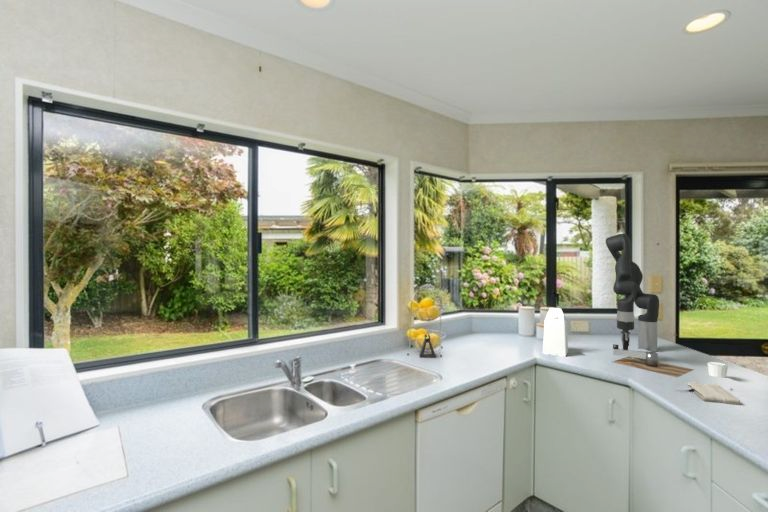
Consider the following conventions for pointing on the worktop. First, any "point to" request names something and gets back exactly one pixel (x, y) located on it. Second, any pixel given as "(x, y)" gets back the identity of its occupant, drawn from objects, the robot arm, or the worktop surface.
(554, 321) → the milk
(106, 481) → the worktop surface
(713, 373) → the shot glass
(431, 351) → the phone stand
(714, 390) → the washcloth
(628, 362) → the dial plate
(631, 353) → the lever
